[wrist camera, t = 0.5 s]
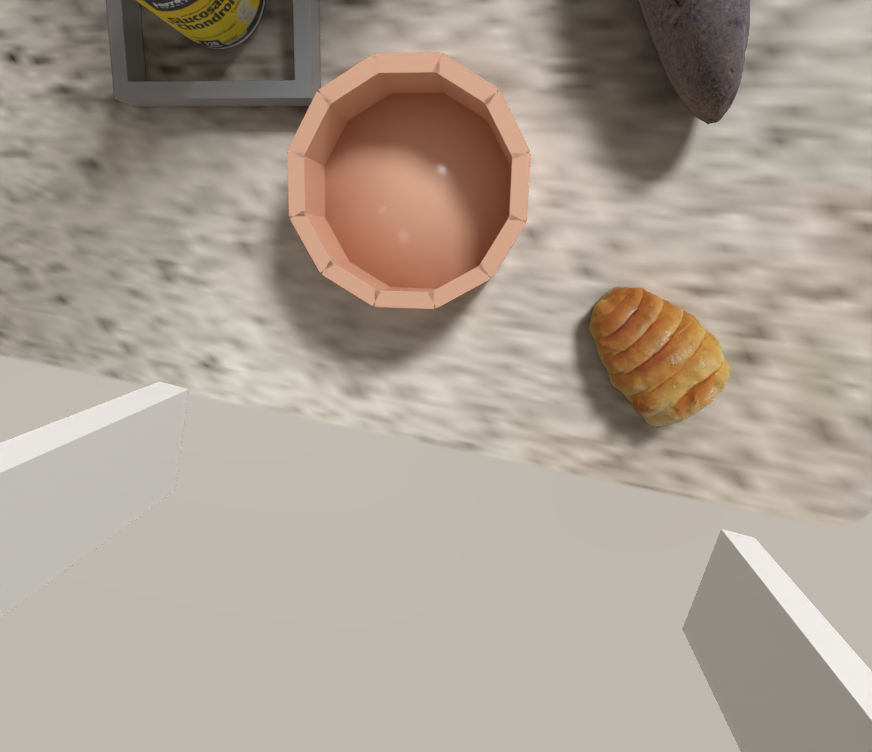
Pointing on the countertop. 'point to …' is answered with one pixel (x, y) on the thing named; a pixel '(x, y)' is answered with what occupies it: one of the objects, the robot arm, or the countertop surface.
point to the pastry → (657, 355)
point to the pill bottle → (210, 19)
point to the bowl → (408, 180)
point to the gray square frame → (210, 93)
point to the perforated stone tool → (701, 49)
